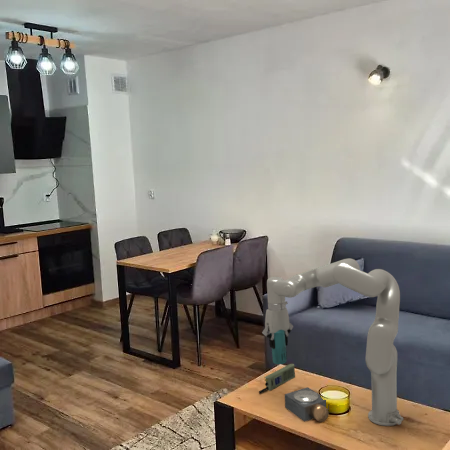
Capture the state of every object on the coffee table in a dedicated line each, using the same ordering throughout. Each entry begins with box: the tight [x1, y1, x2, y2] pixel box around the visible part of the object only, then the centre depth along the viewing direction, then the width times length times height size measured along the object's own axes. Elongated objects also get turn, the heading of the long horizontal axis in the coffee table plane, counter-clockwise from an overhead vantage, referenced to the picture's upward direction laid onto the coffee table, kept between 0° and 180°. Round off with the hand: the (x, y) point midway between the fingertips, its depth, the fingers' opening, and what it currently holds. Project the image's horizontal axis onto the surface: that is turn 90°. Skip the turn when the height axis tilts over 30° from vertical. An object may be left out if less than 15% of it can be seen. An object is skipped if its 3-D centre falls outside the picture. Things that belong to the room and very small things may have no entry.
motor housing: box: [284, 387, 330, 423], centre depth 211 cm, size 18×12×6 cm, turn 27°
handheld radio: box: [258, 363, 296, 395], centre depth 238 cm, size 7×3×25 cm
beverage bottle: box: [270, 330, 288, 365], centre depth 222 cm, size 6×7×20 cm
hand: (278, 345), depth 222 cm, fingers closed on beverage bottle, 5 cm apart
